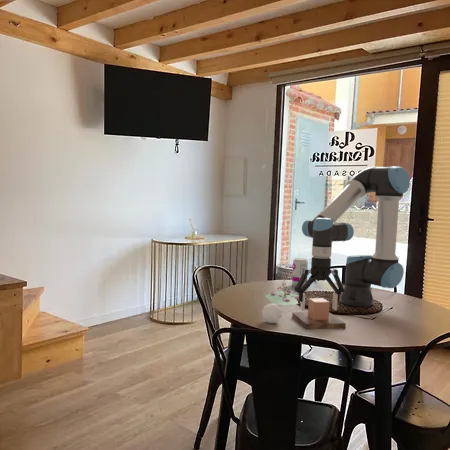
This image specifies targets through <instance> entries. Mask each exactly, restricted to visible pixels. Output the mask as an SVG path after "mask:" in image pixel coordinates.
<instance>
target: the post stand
mask: <svg viewBox="0 0 450 450" xmlns="http://www.w3.org/2000/svg"><path fill="white" fill-rule="evenodd" d="M291 312H292V311H291ZM291 315H292V316H291V318H292V319H294V320H295V321H296V322H297V323H299V324H300V325H301V327H303V328H304V329H306V330H326V329H329V330H331V329H346V327H347V326H346V325H347V324H346V322H344V320H341V319H340V318H338V317H337V316H336V315H334V314H333V313H331V312H330V311H329V320H313V319H312V318H310V317H309V316H308V311H302V312H301V311H299V312H298V311H296V312H292V313H291Z"/></svg>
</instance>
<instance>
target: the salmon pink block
mask: <svg viewBox="0 0 450 450" xmlns="http://www.w3.org/2000/svg"><path fill="white" fill-rule="evenodd" d="M307 304H308V307H307V312H308V316H309V317H310V318H312V319H313V320H329V312H330V301H328V299H325V298H323V297H322V298H321V297H314V298H313V297H310V298H308V303H307Z"/></svg>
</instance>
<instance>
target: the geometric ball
mask: <svg viewBox="0 0 450 450" xmlns="http://www.w3.org/2000/svg"><path fill="white" fill-rule="evenodd" d="M282 313H283V311H282V309H281V308H280V305H276V304H275V303H268V304H266V305H264V307H263V308H262V310H261V317H262V318H263V320H264V321H265V322H267V323H268V324H276V323H278V322H279V321H280V320H281V319H282V316H283V315H282Z"/></svg>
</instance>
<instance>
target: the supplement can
mask: <svg viewBox="0 0 450 450" xmlns="http://www.w3.org/2000/svg"><path fill="white" fill-rule="evenodd" d="M304 268H305V269H309V261H308V260H307V258H300V257H298V258H297V257H296V258H294V259H293V261H292V278H291V286H293V287H296V285H297V284H298V282H299V280H300V278H301V276H302V274H303V269H304ZM307 280H308V277H307V278H306V280H305V282H304V284H305V283H306V282H307ZM304 284H303V285H304ZM303 285H302V286H303Z"/></svg>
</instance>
